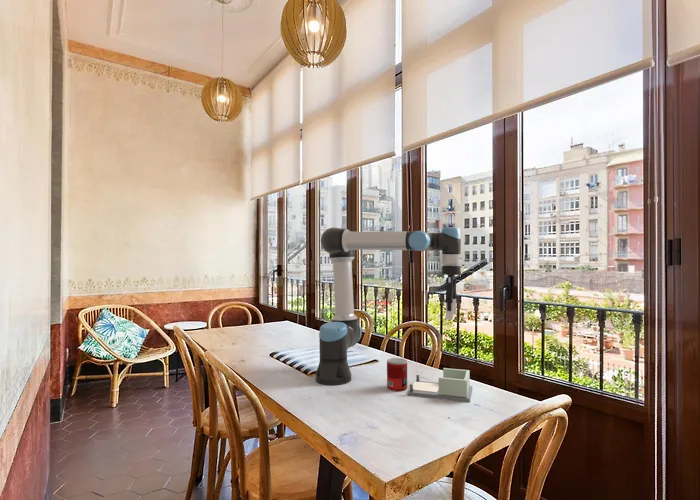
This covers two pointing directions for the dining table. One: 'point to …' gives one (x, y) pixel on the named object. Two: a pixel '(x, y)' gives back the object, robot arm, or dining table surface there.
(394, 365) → the canned food
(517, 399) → the dining table surface
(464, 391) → the housing
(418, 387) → the base
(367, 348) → the dining table surface
